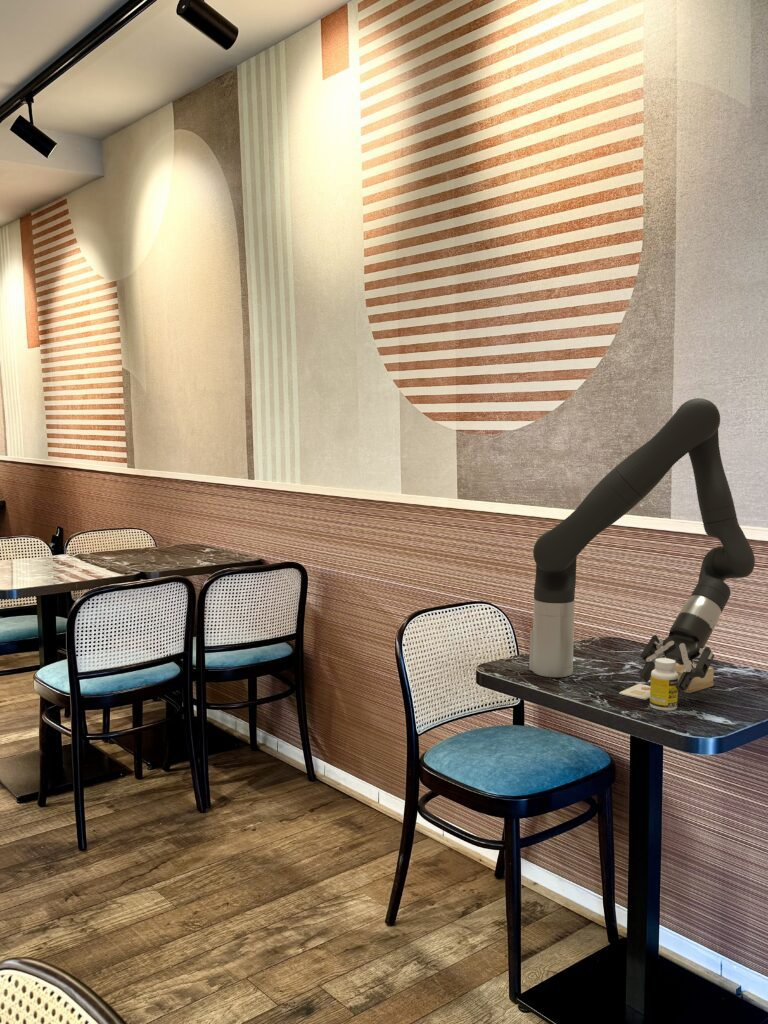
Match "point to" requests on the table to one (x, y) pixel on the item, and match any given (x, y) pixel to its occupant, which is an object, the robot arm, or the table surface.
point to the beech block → (696, 679)
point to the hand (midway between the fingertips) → (660, 685)
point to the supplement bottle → (664, 685)
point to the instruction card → (637, 691)
